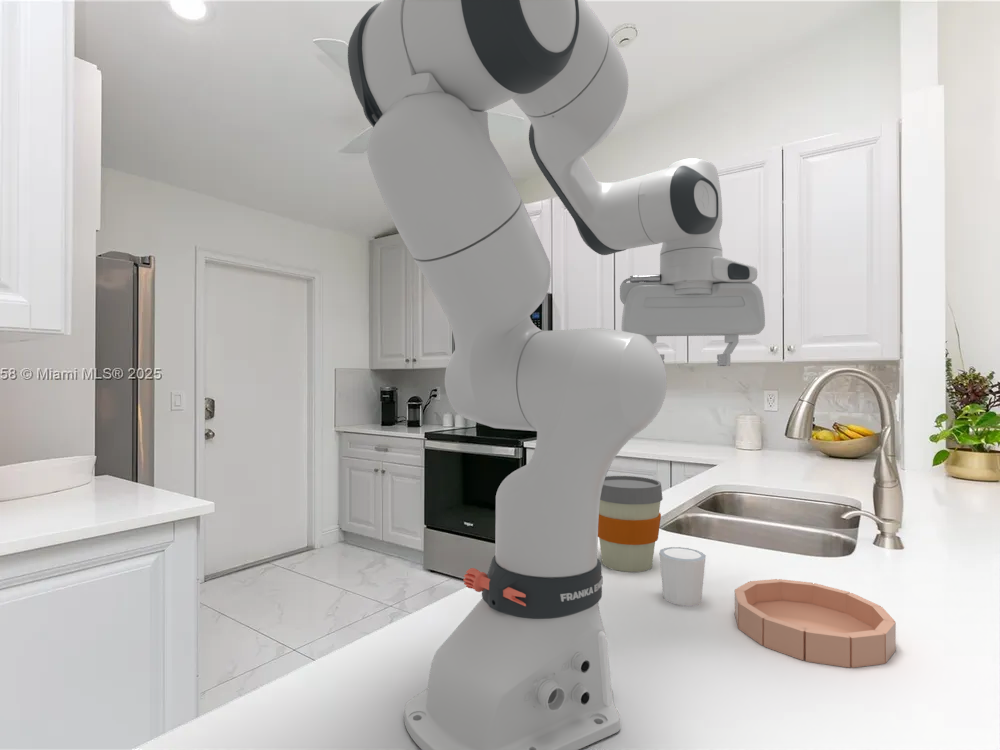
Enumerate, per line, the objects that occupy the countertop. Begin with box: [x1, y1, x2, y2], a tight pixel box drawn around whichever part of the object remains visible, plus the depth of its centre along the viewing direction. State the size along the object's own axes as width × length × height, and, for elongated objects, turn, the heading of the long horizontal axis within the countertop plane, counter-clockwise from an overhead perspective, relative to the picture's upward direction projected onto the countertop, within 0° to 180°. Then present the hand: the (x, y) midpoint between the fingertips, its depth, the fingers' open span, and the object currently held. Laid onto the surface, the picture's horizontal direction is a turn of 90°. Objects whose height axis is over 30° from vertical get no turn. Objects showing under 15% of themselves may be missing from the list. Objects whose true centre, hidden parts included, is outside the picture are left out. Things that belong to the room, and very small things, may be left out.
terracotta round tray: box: [734, 578, 897, 669], centre depth 73 cm, size 18×18×4 cm
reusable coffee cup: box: [598, 475, 663, 573], centre depth 100 cm, size 13×13×15 cm
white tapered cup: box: [658, 546, 707, 607], centre depth 84 cm, size 7×7×7 cm
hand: (690, 366), depth 81 cm, fingers open, 8 cm apart
